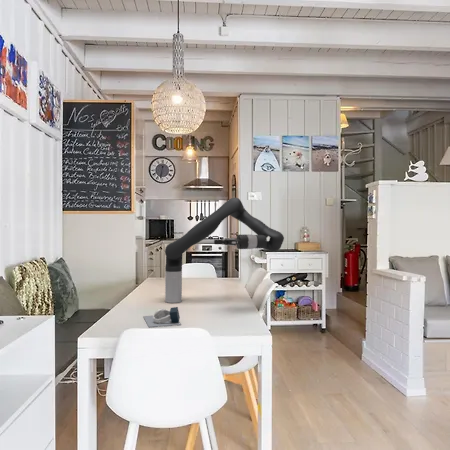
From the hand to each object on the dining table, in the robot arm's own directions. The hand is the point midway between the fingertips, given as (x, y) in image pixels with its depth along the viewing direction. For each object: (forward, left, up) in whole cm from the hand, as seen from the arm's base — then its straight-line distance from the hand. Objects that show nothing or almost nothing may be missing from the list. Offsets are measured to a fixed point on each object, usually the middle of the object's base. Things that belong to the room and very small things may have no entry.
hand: (214, 242), depth 206 cm
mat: (+12, -28, -35) cm, 47 cm away
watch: (+18, -22, -31) cm, 42 cm away
